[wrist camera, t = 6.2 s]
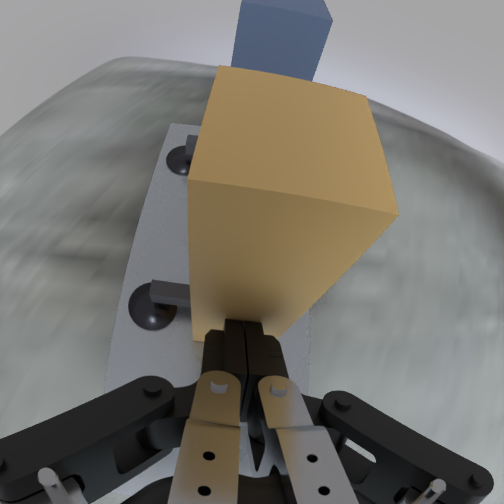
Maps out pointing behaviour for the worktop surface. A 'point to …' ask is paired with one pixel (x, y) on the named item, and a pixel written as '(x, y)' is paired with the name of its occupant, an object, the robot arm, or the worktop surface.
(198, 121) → the worktop surface
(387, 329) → the worktop surface
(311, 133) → the block
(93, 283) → the worktop surface
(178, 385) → the bolt plate
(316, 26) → the fixed leg
